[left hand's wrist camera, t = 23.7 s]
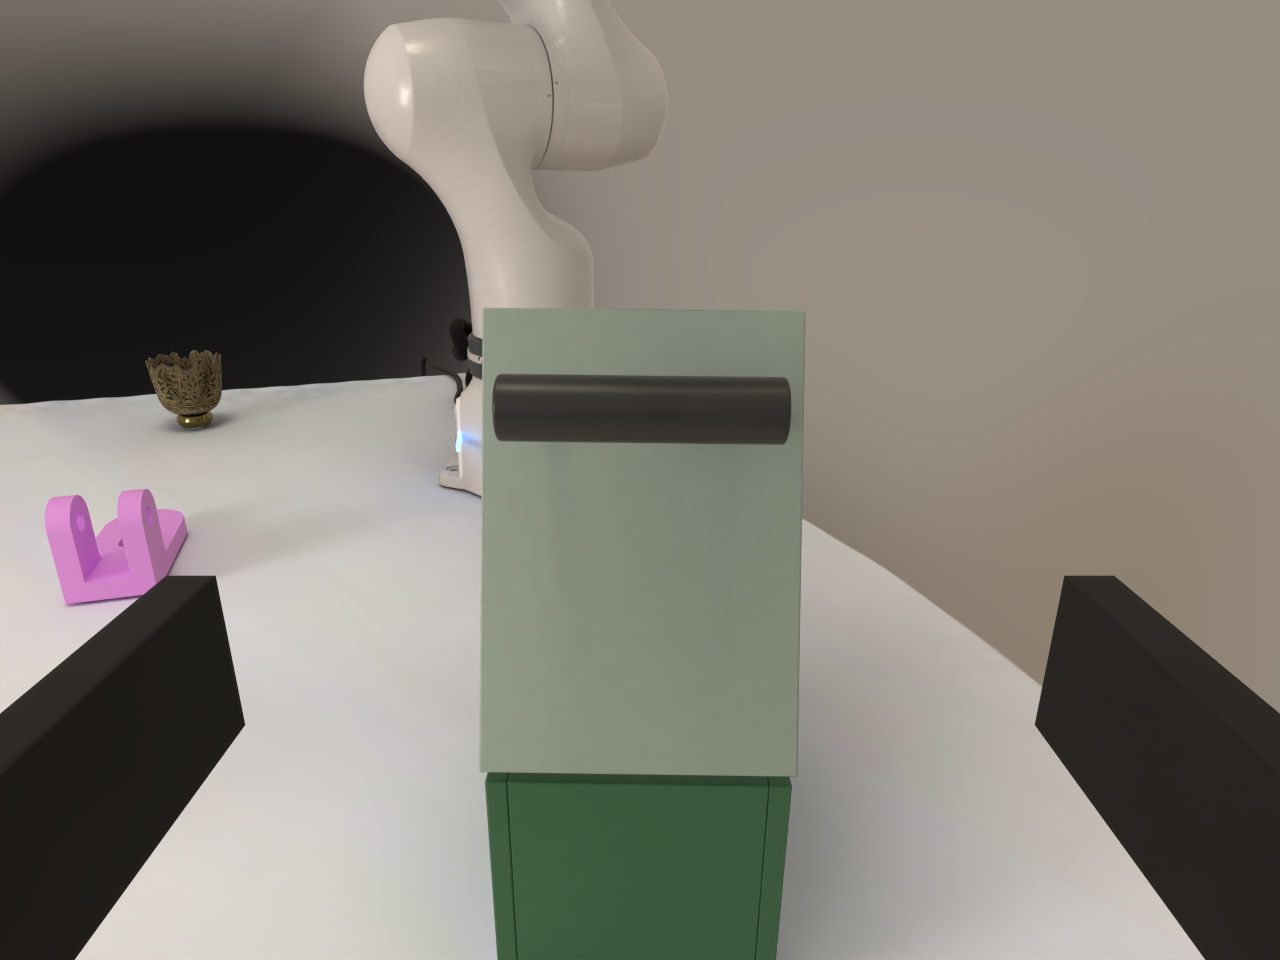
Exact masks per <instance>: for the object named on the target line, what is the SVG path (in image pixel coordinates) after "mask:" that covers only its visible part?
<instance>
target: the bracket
mask: <svg viewBox="0 0 1280 960" xmlns="http://www.w3.org/2000/svg"><path fill="white" fill-rule="evenodd" d="M45 525H46V532H47V536H48V540H49V543H50V547H51V551H52V555H53V558H54V562H55V566H56V569H57V573H58V577H59V581H60V584H61V588H62V592H63V595H64V599H65V603H66V604H72V603H80V602H88V601H96V600H105V599H113V598H121V597H129V596H138V595H144V594H145V593H146V592H147V591H148V590H150V589H151V588H152V587H153V586H154V585H156V584H157V583H158V582H159V581H160V580H162V579H163V578H164V577H165V576H167V574H168V572H169V570H170V567H171V565H172V563H173V561H174V559H175V557H176V555H177V553H178V551H179V549H180V547H181V545H182V543H183V541H184V539H185V537H186V535H187V529H186V524H185V519H184V515H183V514H182V513H181V512H179V511H175V510H168V509H157V510H156V505H155V501H154V498H153V496H152V494H151V492H150V491H149V490H148V489H142V490H130V491H123V492H121V494H120V496H119V500H118V518H117V519H114V520H112V521H111V522H109V523H108V524H106V525H105V526H104V528H103V529H102V530H101V532H100V533H99V535H98V536H97V537H96V539H95V535H94V531H93V527H92V523H91V519H90V515H89V511H88V508H87V505H86V503H85V501H84V499H83V498H82V497H81V496H79V495H74V496H63V497H53V498H51V499H50V500H49V502H48V504H47V507H46V513H45Z"/></svg>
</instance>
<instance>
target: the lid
mask: <svg viewBox="0 0 1280 960" xmlns="http://www.w3.org/2000/svg"><path fill="white" fill-rule="evenodd" d="M804 368H805V312H804V311H744V310H655V309H565V308H483V342H482V491H481V640H480V772H511V773H581V774H651V775H721V776H790V777H796V776H797V761H798V705H799V649H800V592H801V536H802V480H803V423H804Z"/></svg>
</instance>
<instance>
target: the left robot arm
mask: <svg viewBox="0 0 1280 960" xmlns="http://www.w3.org/2000/svg"><path fill="white" fill-rule="evenodd" d="M244 726H245V722H244V717H243V712H242V707H241V702H240V697H239V691H238V686H237V681H236V676H235V671H234V666H233V661H232V656H231V651H230V646H229V641H228V636H227V631H226V626H225V621H224V616H223V611H222V606H221V601H220V596H219V591H218V586H217V581H216V576H165V577H164V578H163V579H162V580H160V581H159V582H158V583H157V584H156V585H154V586H153V587H152V588H151V589H150V590H148V591H147V592H146V593H145V594H144V595H142V596H141V597H140V598H139V599H138V600H136V601H135V602H134V603H133V604H132V605H130V606H129V607H128V608H127V609H125V610H124V611H123V612H122V613H121V614H119V615H118V616H117V617H116V618H115V619H113V620H112V621H111V622H110V623H109V624H107V625H106V626H105V627H104V628H103V629H101V630H100V631H99V632H98V633H97V634H95V635H94V636H93V637H92V638H91V639H89V640H88V641H87V642H86V643H85V644H83V645H82V646H81V647H80V648H79V649H77V650H76V651H75V652H74V653H73V654H71V655H70V656H69V657H68V658H67V659H65V660H64V661H63V662H62V663H61V664H59V665H58V666H57V667H56V668H55V669H53V670H52V671H51V672H50V673H49V674H47V675H46V676H45V677H44V678H43V679H41V680H40V681H39V682H38V683H37V684H35V685H34V686H33V687H32V688H31V689H29V690H28V691H27V692H26V693H25V694H23V695H22V696H21V697H20V698H19V699H17V700H16V701H15V702H14V703H13V704H11V705H10V706H9V707H8V708H7V709H5V710H4V711H3V712H2V713H1V714H0V960H75V958H76V957H77V956H78V954H79V953H80V952H81V950H82V949H83V947H84V946H85V945H86V943H87V942H88V941H89V939H90V938H91V936H92V935H93V934H94V932H95V931H96V930H97V928H98V927H99V925H100V924H101V923H102V921H103V920H104V919H105V917H106V916H107V914H108V913H109V912H110V910H111V909H112V908H113V906H114V905H115V903H116V902H117V901H118V899H119V898H120V897H121V895H122V894H123V892H124V891H125V890H126V888H127V887H128V885H129V884H130V883H131V881H132V880H133V879H134V877H135V876H136V874H137V873H138V872H139V870H140V869H141V868H142V866H143V865H144V863H145V862H146V861H147V859H148V858H149V857H150V855H151V854H152V852H153V851H154V850H155V848H156V847H157V846H158V844H159V843H160V841H161V840H162V839H163V837H164V836H165V835H166V833H167V832H168V830H169V829H170V828H171V826H172V825H173V824H174V822H175V821H176V819H177V818H178V817H179V815H180V814H181V813H182V811H183V810H184V808H185V807H186V806H187V804H188V803H189V802H190V800H191V799H192V797H193V796H194V795H195V793H196V792H197V790H198V789H199V788H200V786H201V785H202V784H203V782H204V781H205V779H206V778H207V777H208V775H209V774H210V773H211V771H212V770H213V768H214V767H215V766H216V764H217V763H218V762H219V760H220V759H221V757H222V756H223V755H224V753H225V752H226V751H227V749H228V748H229V746H230V745H231V744H232V742H233V741H234V740H235V738H236V737H237V735H238V734H239V733H240V731H241V730H242V729H243V727H244ZM1035 726H1036V727H1037V729H1038V730H1039V731H1040V733H1041V734H1042V735H1043V737H1044V738H1045V740H1046V741H1047V742H1048V744H1049V745H1050V746H1051V748H1052V749H1053V751H1054V752H1055V753H1056V755H1057V756H1058V757H1059V759H1060V760H1061V762H1062V763H1063V764H1064V766H1065V767H1066V768H1067V770H1068V771H1069V773H1070V774H1071V775H1072V777H1073V778H1074V779H1075V781H1076V782H1077V784H1078V785H1079V786H1080V788H1081V789H1082V790H1083V792H1084V793H1085V795H1086V796H1087V797H1088V799H1089V800H1090V802H1091V803H1092V804H1093V806H1094V807H1095V808H1096V810H1097V811H1098V813H1099V814H1100V815H1101V817H1102V818H1103V819H1104V821H1105V822H1106V824H1107V825H1108V826H1109V828H1110V829H1111V830H1112V832H1113V833H1114V835H1115V836H1116V837H1117V839H1118V840H1119V841H1120V843H1121V844H1122V846H1123V847H1124V848H1125V850H1126V851H1127V852H1128V854H1129V855H1130V857H1131V858H1132V859H1133V861H1134V862H1135V863H1136V865H1137V866H1138V868H1139V869H1140V870H1141V872H1142V873H1143V874H1144V876H1145V877H1146V879H1147V880H1148V881H1149V883H1150V884H1151V885H1152V887H1153V888H1154V890H1155V891H1156V892H1157V894H1158V895H1159V897H1160V898H1161V899H1162V901H1163V902H1164V903H1165V905H1166V906H1167V908H1168V909H1169V910H1170V912H1171V913H1172V914H1173V916H1174V917H1175V919H1176V920H1177V921H1178V923H1179V924H1180V925H1181V927H1182V928H1183V930H1184V931H1185V932H1186V934H1187V935H1188V936H1189V938H1190V939H1191V941H1192V942H1193V943H1194V945H1195V946H1196V947H1197V949H1198V950H1199V952H1200V953H1201V954H1202V956H1203V957H1204V958H1205V960H1280V714H1279V713H1278V712H1277V711H1276V710H1275V709H1273V708H1272V707H1271V706H1270V705H1269V704H1267V703H1266V702H1265V701H1264V700H1263V699H1261V698H1260V697H1259V696H1258V695H1257V694H1255V693H1254V692H1253V691H1252V690H1251V689H1249V688H1248V687H1247V686H1246V685H1245V684H1243V683H1242V682H1241V681H1240V680H1239V679H1237V678H1236V677H1235V676H1234V675H1233V674H1231V673H1230V672H1229V671H1228V670H1227V669H1225V668H1224V667H1223V666H1222V665H1221V664H1219V663H1218V662H1217V661H1216V660H1215V659H1213V658H1212V657H1211V656H1210V655H1209V654H1207V653H1206V652H1205V651H1204V650H1203V649H1201V648H1200V647H1199V646H1198V645H1197V644H1195V643H1194V642H1193V641H1192V640H1190V639H1189V638H1188V637H1187V636H1186V635H1185V634H1183V633H1182V632H1181V631H1180V630H1178V629H1177V628H1176V627H1175V626H1174V625H1173V624H1171V623H1170V622H1169V621H1168V620H1167V619H1165V618H1164V617H1163V616H1162V615H1161V614H1159V613H1158V612H1157V611H1156V610H1154V609H1153V608H1152V607H1151V606H1150V605H1148V604H1147V603H1146V602H1145V601H1144V600H1142V599H1141V598H1140V597H1139V596H1138V595H1136V594H1135V593H1134V592H1133V591H1132V590H1130V589H1129V588H1128V587H1127V586H1126V585H1124V584H1123V583H1122V582H1121V581H1120V580H1118V579H1117V578H1116V577H1115V576H1064V581H1063V586H1062V591H1061V596H1060V601H1059V606H1058V611H1057V616H1056V621H1055V626H1054V631H1053V636H1052V641H1051V646H1050V651H1049V656H1048V661H1047V666H1046V672H1045V676H1044V682H1043V686H1042V691H1041V697H1040V702H1039V707H1038V712H1037V717H1036V722H1035Z"/></svg>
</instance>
